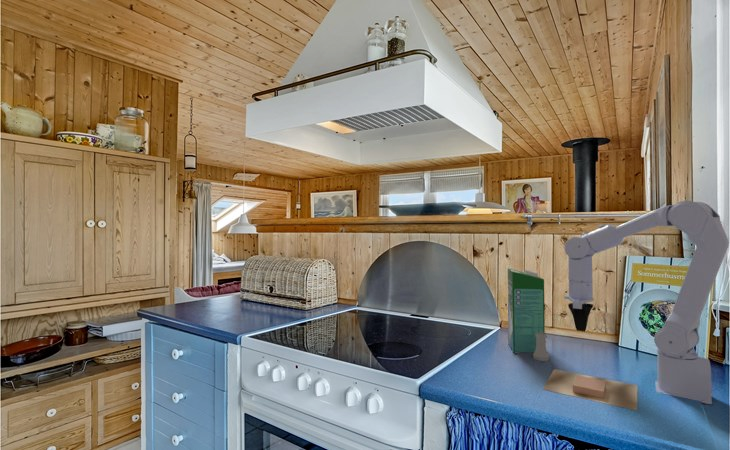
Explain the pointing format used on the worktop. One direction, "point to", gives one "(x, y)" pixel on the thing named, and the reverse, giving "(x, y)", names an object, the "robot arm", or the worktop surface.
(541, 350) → the rook chess piece
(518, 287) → the milk carton
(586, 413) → the worktop surface
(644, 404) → the worktop surface
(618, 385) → the wooden board
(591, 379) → the tile
